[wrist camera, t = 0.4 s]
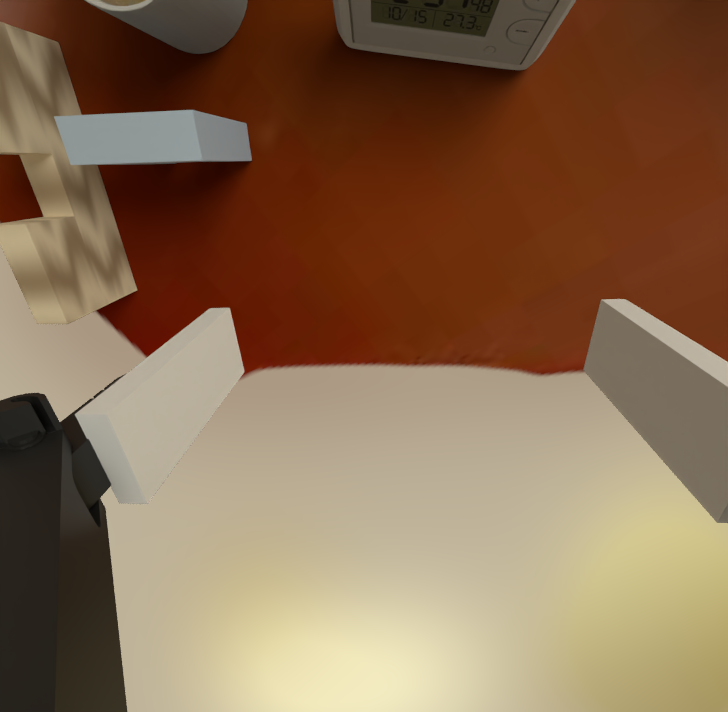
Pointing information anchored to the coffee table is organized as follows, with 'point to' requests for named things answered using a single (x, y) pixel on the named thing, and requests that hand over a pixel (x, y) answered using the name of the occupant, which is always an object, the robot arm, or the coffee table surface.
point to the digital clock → (453, 29)
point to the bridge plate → (153, 138)
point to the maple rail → (55, 191)
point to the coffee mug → (181, 20)
